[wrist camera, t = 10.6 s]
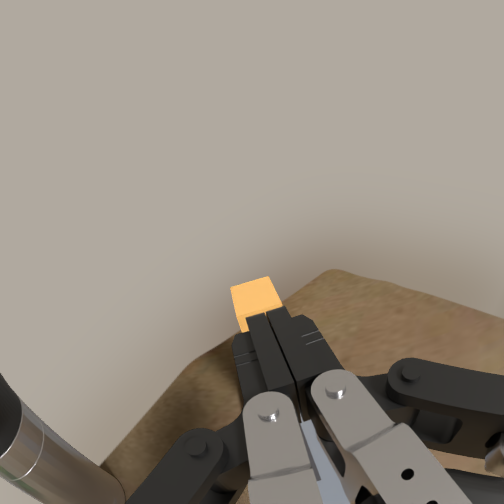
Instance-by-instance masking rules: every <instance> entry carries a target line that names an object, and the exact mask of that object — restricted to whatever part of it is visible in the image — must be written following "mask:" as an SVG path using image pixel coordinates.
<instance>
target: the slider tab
mask: <svg viewBox="0 0 504 504" xmlns="http://www.w3.org/2000/svg"><path fill="white" fill-rule="evenodd" d="M230 289H231V293H232V298H233V302H234V307H235V312H236V316H237V319H238V322H239V325H240V328H241V331H242V333H243V332H247V331H249V329H248V325H247V322H246V319H245V318H246V317H249V316H253V315H256V314H259V313H263V312H264V313H265V315H266V311H269V310H273V309H276V308H279V307H282V303H281V301H280V299H279V297H278V295H277V293H276V290H275V288H274V286H273V284H272V282H271V280H270V278H269V276H267V277H264V278H260V279H257V280H253V281H250V282H247V283H243V284H240V285H236V286H233V287H230Z"/></svg>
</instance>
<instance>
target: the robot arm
mask: <svg viewBox="0 0 504 504" xmlns="http://www.w3.org/2000/svg"><path fill="white" fill-rule="evenodd" d="M245 319H246V322H247V325H248V329H249V331H247V332H243V333H240V334H236V335H235V337H234V340H233V343H232V350H233V355H234V359H235V364H236V368H237V373H238V377H239V382H240V386H241V390H242V395H243V399H244V406H243V410H242V412H241V414H240V415H239V416H238V418H237V419H236V420H235V421H233V422H232V423H230V424H229V425H227V426H225V427H223V428H221V429H220V430H218V431H216V432H214V431H212V430H209V429H205V428H197V429H192V430H190V431H187V432H185V433H184V434H183V435H181V436H180V437H179V438H178V439H177V441H176V442H175V443H174V445H173V446H172V447H171V448H170V450H169V451H168V452H167V453H166V455H165V456H164V457H163V458H162V460H161V461H160V462H159V463H158V465H157V466H156V467H155V468H154V469H153V471H152V472H151V473H150V474H149V476H148V477H147V478H146V479H145V480H144V482H143V483H142V484H141V485H140V486H139V487H138V489H137V490H136V491H135V492H134V493H133V494H132V496H131V497H130V498H129V499H128V500H127V501H126V503H125V495H124V491H123V488H122V486H121V484H120V483H119V481H118V480H117V479H116V478H115V477H113V476H112V475H110V474H109V473H107V472H106V471H104V470H103V469H101V468H100V467H99V466H97V465H96V464H94V463H93V462H92V461H90V460H89V459H88V458H86V457H85V456H84V455H82V454H81V453H79V452H78V451H77V450H76V449H75V448H73V447H72V446H71V445H69V444H68V443H67V442H66V441H65V440H63V439H62V438H61V437H60V436H59V435H58V434H56V433H55V432H54V431H53V430H52V429H51V428H50V427H49V426H48V425H46V424H45V423H44V422H43V421H42V420H41V419H40V418H39V417H38V416H37V415H36V414H35V413H34V412H33V411H32V410H31V409H30V408H29V407H28V406H27V405H26V404H25V403H24V402H23V401H22V400H21V399H20V398H19V397H18V396H17V395H16V393H15V392H14V391H13V390H12V389H11V388H10V386H9V385H8V384H7V382H6V381H5V379H4V378H3V376H2V375H1V373H0V477H2V478H3V479H5V480H6V481H7V482H9V483H10V484H12V485H13V486H15V487H17V488H18V489H20V490H21V491H23V492H25V493H26V494H28V495H29V496H31V497H33V498H34V499H36V500H38V501H40V502H42V503H43V504H235V503H236V502H237V500H238V498H239V497H240V495H241V494H242V492H243V491H244V489H245V487H246V485H247V484H248V492H249V499H250V504H323V501H322V498H321V495H320V491H319V488H318V484H317V481H316V478H315V474H314V471H313V468H312V466H311V464H310V461H309V457H308V454H307V451H306V447H305V444H304V440H303V437H302V433H301V428H300V423H302V421H301V417H302V419H303V422H305V421H308V420H311V421H312V423H313V426H314V428H315V433H316V438H317V440H318V442H319V444H320V445H321V447H322V449H323V451H324V453H325V454H326V456H327V458H328V460H329V461H330V463H331V465H332V467H333V469H334V470H335V472H336V474H337V476H338V477H339V479H340V482H341V484H342V488H343V490H344V493H345V495H346V497H347V498H348V500H349V502H350V504H504V376H503V375H497V374H491V373H485V372H480V371H474V370H469V369H464V368H459V367H454V366H449V365H444V364H440V363H435V362H430V361H426V360H422V359H417V358H405V359H401V360H399V361H397V362H396V363H394V364H393V365H392V366H391V368H390V369H389V372H388V373H387V374H381V375H375V376H368V377H361V376H356V375H354V374H353V373H351V372H349V371H346V370H345V369H344V368H343V367H342V366H341V364H340V362H339V361H338V359H337V358H336V356H335V355H334V353H333V352H332V350H331V348H330V347H329V345H328V344H327V342H326V341H325V339H324V338H323V336H322V334H321V333H320V331H319V330H318V328H317V327H316V325H315V324H314V322H313V320H311V319H309V318H307V317H306V316H304V315H299V316H295V317H292V318H291V316H290V314H289V312H288V311H287V309H286V307H285V306H282V307H279V308H276V309H273V310H269V311H266V315H265V313H264V312H263V313H259V314H256V315H253V316H249V317H246V318H245ZM300 414H301V416H300ZM428 448H429V449H433V450H437V451H442V452H446V453H451V454H456V455H462V456H467V457H473V458H480V459H485V470H486V471H487V472H489V473H493V474H496V475H499V476H501V477H502V478H501V477H494V476H488V475H482V474H476V473H471V472H466V471H461V470H456V469H447V468H443V467H442V466H441V464H440V463H439V462H438V461H437V459H436V458H435V457H434V456H433V454H432V453H431V452H430V451H429V450H428Z"/></svg>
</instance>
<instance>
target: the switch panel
mask: <svg viewBox="0 0 504 504" xmlns="http://www.w3.org/2000/svg"><path fill="white" fill-rule="evenodd" d="M300 416H301V414H300ZM301 421H302V423H300V428H301V433H302V437H303V440H304V444H305V447H306V451H307V454H308V457H309V461H310V464H311V466H312V468H313V471H314V474H315V478H316V481H317V484H318V488H319V491H320V495H321V498H322V501H323V504H350V502H349V500H348V498H347V497H346V495H345V493H344V490H343V488H342V484H341V482H340V479H339V477H338V476H337V474H336V472H335V470H334V469H333V467H332V465H331V463H330V461H329V460H328V458H327V456H326V454H325V453H324V451H323V449H322V447H321V445H320V444H319V442H318V440H317V438H316V433H315V428H314V426H313V423H312V421H311V420H308V421H305V422H303V419H302V417H301Z"/></svg>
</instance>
